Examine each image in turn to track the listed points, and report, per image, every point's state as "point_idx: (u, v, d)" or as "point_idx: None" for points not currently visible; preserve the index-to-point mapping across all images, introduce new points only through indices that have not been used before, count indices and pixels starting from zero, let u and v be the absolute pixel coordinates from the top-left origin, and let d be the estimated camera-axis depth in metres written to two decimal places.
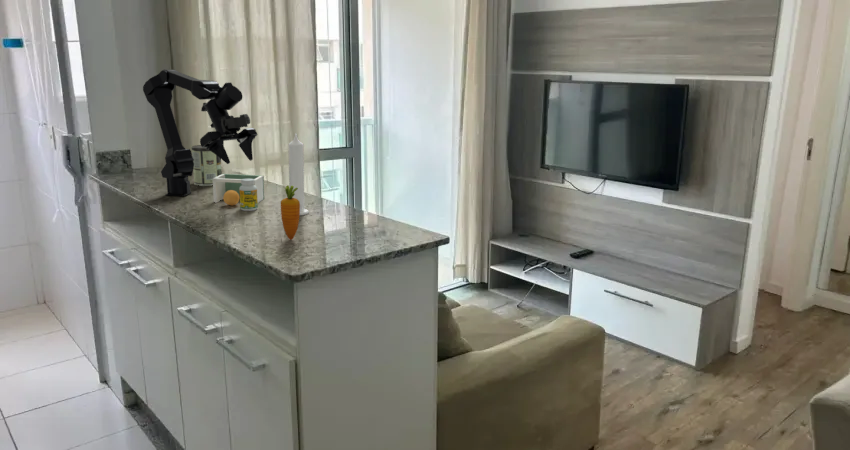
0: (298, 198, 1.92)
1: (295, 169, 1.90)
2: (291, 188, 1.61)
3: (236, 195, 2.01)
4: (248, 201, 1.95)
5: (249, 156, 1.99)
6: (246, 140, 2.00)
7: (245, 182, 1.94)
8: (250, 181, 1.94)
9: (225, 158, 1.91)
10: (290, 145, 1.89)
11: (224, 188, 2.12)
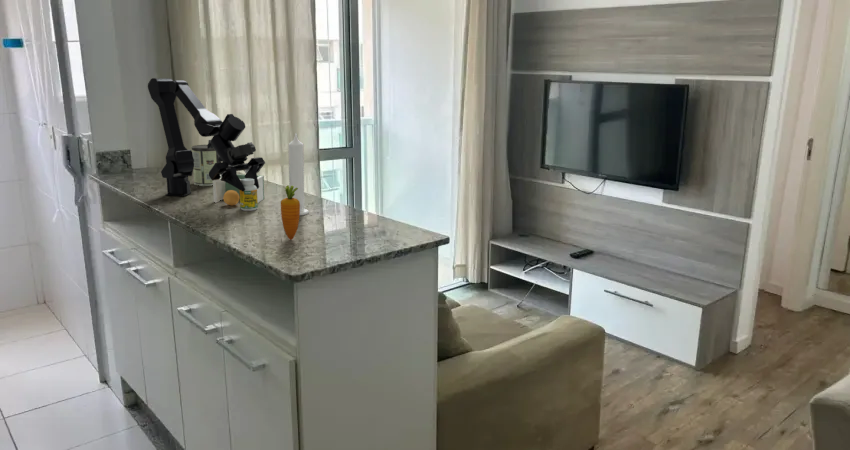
0: (298, 198, 1.92)
1: (295, 169, 1.90)
2: (291, 188, 1.61)
3: (236, 195, 2.01)
4: (248, 201, 1.95)
5: (255, 184, 1.98)
6: (250, 169, 1.99)
7: (245, 182, 1.94)
8: (250, 181, 1.94)
9: (240, 186, 1.93)
10: (290, 145, 1.89)
11: (224, 188, 2.12)
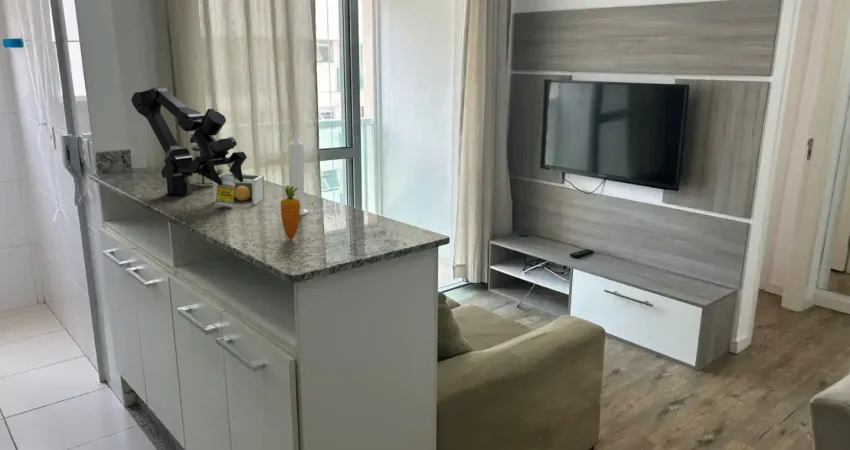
0: (298, 198, 1.92)
1: (295, 169, 1.90)
2: (291, 188, 1.61)
3: None
4: (224, 195, 1.95)
5: (239, 178, 2.02)
6: (235, 163, 2.03)
7: (224, 176, 1.96)
8: (229, 176, 1.97)
9: (217, 180, 1.95)
10: (290, 145, 1.89)
11: None
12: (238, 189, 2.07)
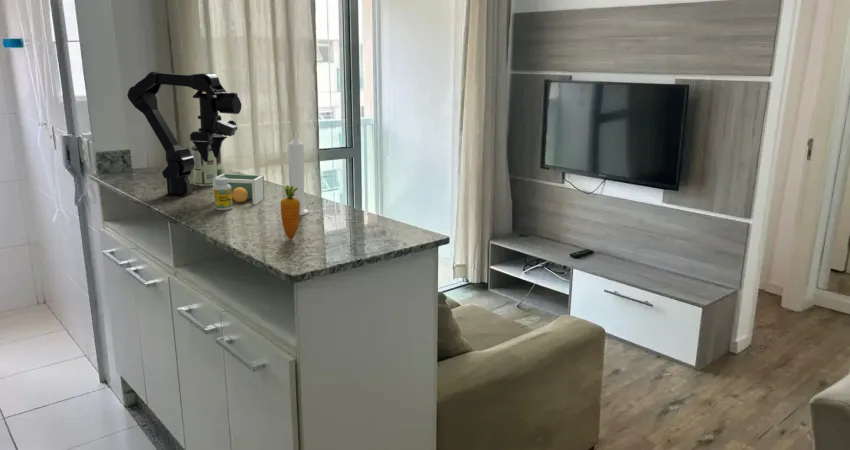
0: (298, 198, 1.92)
1: (295, 169, 1.90)
2: (291, 188, 1.61)
3: None
4: (223, 201, 1.95)
5: (216, 154, 2.13)
6: (219, 138, 2.13)
7: (219, 181, 1.93)
8: (224, 180, 1.94)
9: (205, 157, 2.04)
10: (290, 145, 1.89)
11: None
12: (235, 198, 2.05)
